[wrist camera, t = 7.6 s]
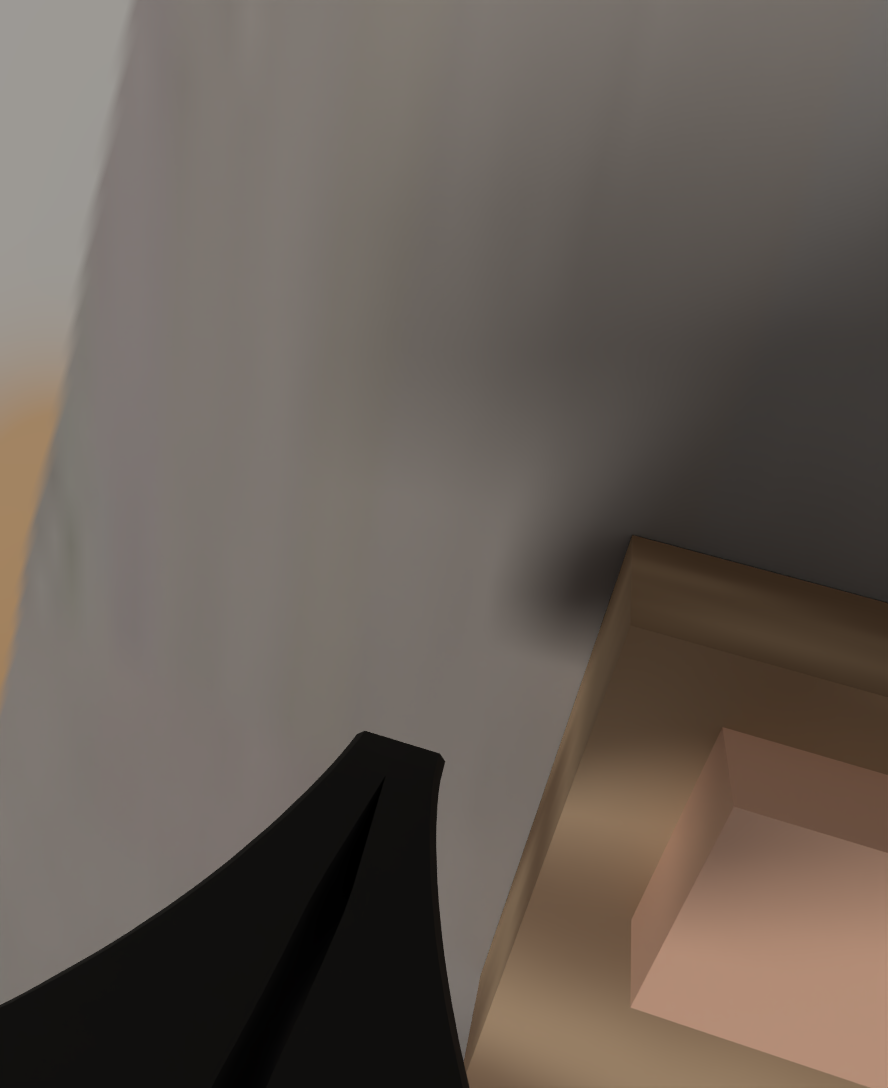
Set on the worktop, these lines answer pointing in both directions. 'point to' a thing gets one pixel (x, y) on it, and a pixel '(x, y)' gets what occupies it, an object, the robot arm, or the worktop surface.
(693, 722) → the walnut board
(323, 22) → the worktop surface
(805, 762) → the terracotta tile
